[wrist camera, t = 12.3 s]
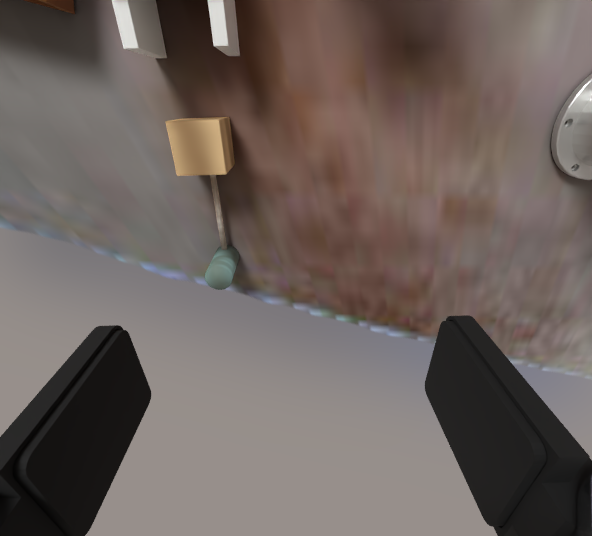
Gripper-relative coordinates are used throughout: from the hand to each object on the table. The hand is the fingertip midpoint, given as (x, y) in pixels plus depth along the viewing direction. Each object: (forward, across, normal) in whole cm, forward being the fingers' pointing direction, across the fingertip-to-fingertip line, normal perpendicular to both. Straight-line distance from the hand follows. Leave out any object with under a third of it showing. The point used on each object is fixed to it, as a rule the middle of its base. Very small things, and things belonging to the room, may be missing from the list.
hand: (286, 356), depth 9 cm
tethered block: (+30, +9, +4) cm, 32 cm away
